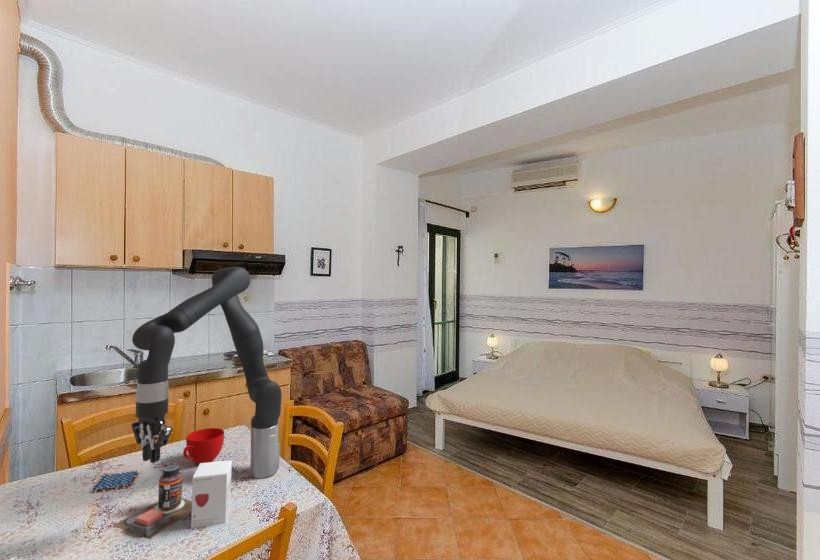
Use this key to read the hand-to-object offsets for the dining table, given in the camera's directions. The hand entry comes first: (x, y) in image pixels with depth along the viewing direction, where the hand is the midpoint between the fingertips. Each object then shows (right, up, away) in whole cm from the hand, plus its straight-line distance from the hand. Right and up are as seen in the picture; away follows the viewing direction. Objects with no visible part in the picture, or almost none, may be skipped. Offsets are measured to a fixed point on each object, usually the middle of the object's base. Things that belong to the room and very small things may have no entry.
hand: (151, 460), depth 107 cm
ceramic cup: (-8, -20, +40) cm, 45 cm away
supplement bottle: (-1, -18, +10) cm, 21 cm away
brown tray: (-1, -19, +5) cm, 20 cm away
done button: (0, -17, 0) cm, 17 cm away
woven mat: (-28, -20, +24) cm, 42 cm away
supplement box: (+14, -20, +5) cm, 25 cm away
